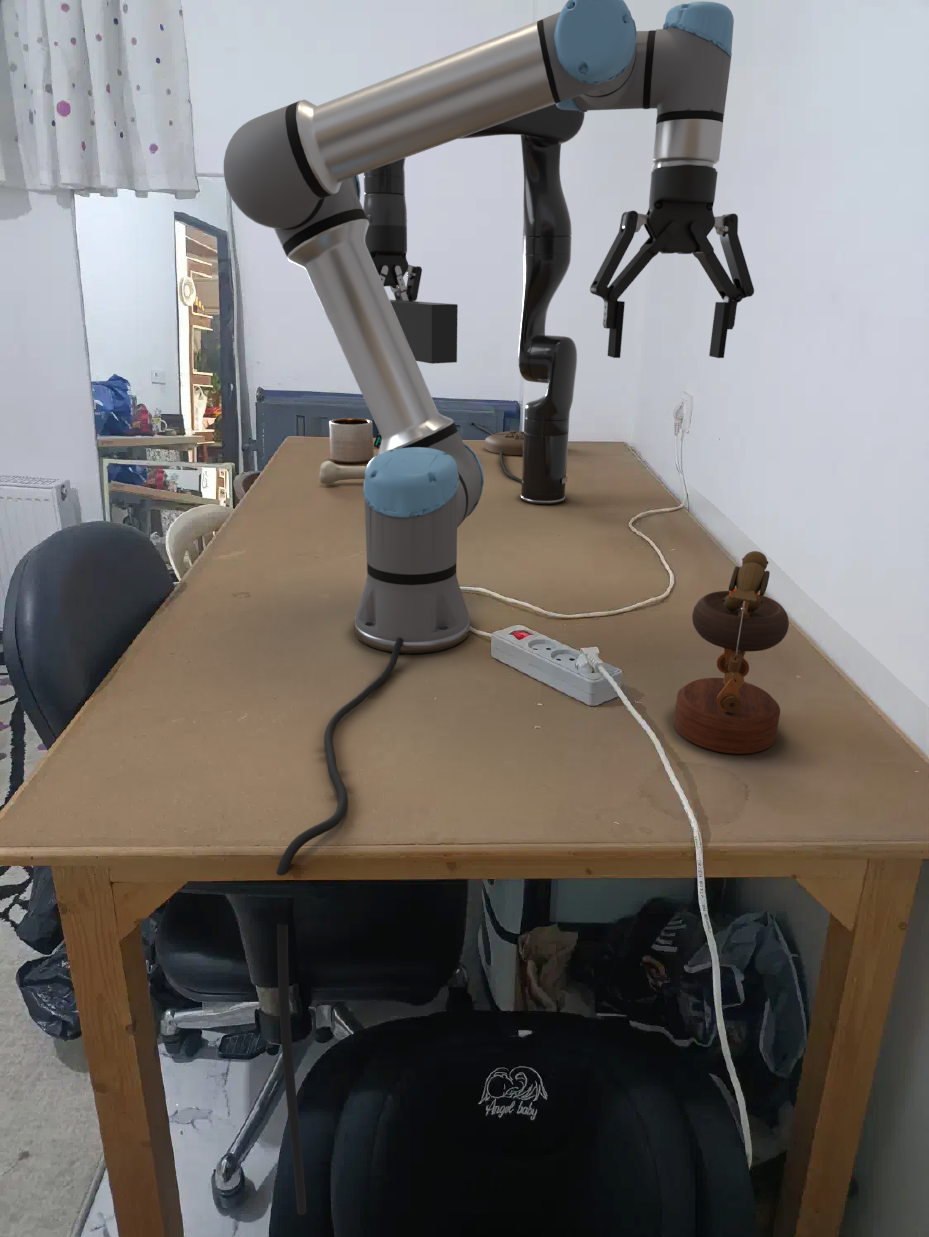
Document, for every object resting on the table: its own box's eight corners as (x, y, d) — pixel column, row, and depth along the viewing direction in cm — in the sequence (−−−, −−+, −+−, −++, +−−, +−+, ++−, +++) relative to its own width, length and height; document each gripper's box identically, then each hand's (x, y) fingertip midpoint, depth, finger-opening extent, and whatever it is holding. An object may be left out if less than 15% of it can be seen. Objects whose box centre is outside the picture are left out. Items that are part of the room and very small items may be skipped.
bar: (457, 362, 142) (457, 304, 139) (431, 363, 140) (432, 304, 136) (389, 351, 159) (388, 299, 156) (365, 352, 157) (364, 299, 153)
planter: (327, 456, 217) (325, 418, 214) (369, 454, 220) (368, 417, 217) (334, 465, 208) (332, 425, 204) (377, 463, 211) (376, 424, 207)
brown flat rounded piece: (490, 464, 211) (490, 447, 209) (483, 443, 237) (483, 428, 235) (573, 465, 212) (575, 448, 210) (557, 444, 238) (558, 429, 236)
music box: (796, 766, 83) (813, 573, 76) (681, 766, 84) (687, 577, 77) (763, 694, 97) (775, 526, 90) (665, 695, 98) (669, 530, 91)
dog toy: (407, 478, 195) (407, 457, 193) (410, 485, 190) (410, 462, 188) (319, 480, 192) (318, 458, 190) (319, 487, 186) (318, 464, 185)
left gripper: (769, 174, 104) (744, 354, 112) (572, 166, 100) (561, 354, 108) (801, 167, 97) (772, 360, 105) (591, 159, 93) (578, 359, 101)
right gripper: (409, 226, 154) (410, 325, 160) (338, 223, 146) (342, 327, 152) (431, 225, 148) (431, 327, 154) (359, 221, 140) (362, 329, 147)
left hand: (665, 357), depth 106 cm, fingers open, 13 cm apart
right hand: (387, 326), depth 153 cm, fingers closed on bar, 5 cm apart
